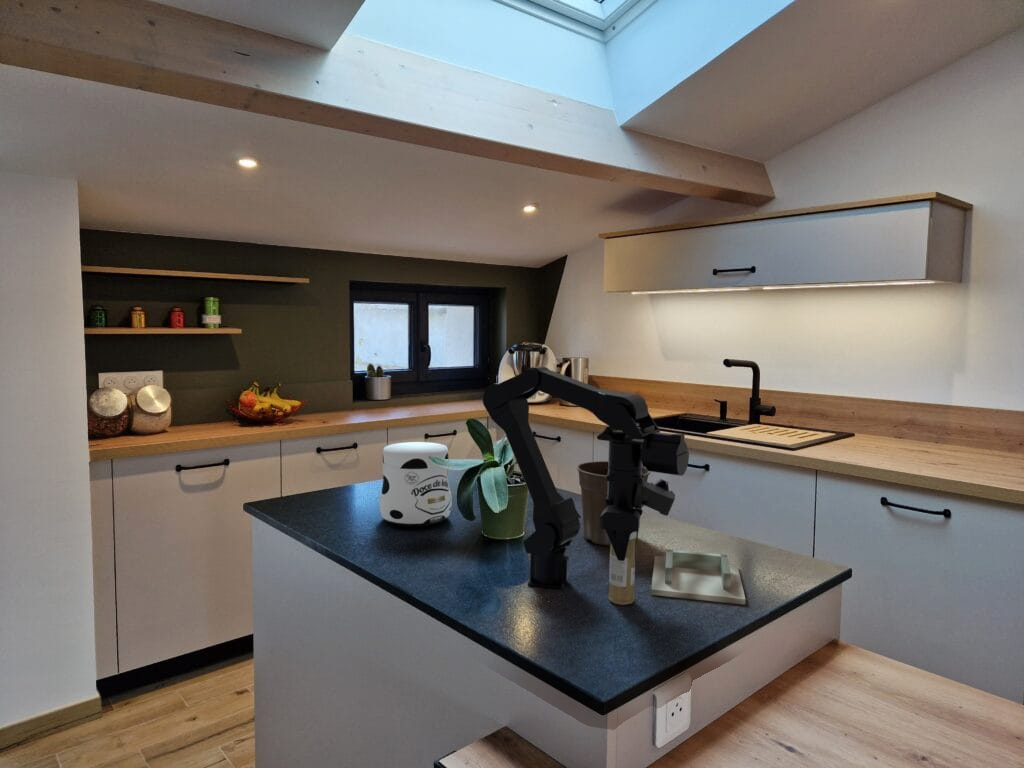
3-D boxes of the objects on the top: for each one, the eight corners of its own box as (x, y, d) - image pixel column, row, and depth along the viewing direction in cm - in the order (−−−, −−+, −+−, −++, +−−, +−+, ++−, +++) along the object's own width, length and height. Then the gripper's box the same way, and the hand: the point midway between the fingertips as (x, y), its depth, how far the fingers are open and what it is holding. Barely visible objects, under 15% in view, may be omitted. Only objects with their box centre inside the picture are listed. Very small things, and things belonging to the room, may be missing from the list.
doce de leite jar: (441, 534, 154) (441, 456, 152) (368, 529, 157) (368, 452, 155) (459, 513, 171) (459, 442, 169) (393, 509, 174) (393, 439, 172)
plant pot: (641, 528, 161) (644, 461, 159) (654, 551, 144) (656, 477, 143) (573, 526, 161) (574, 459, 160) (577, 549, 145) (579, 475, 143)
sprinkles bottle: (639, 602, 118) (642, 526, 117) (620, 608, 116) (622, 530, 114) (621, 593, 122) (624, 520, 121) (602, 598, 119) (604, 524, 118)
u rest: (651, 594, 121) (651, 573, 121) (654, 560, 139) (655, 541, 138) (745, 604, 118) (746, 582, 117) (736, 568, 135) (737, 548, 135)
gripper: (672, 483, 106) (668, 580, 107) (673, 460, 124) (670, 543, 125) (600, 478, 108) (598, 573, 110) (612, 456, 126) (609, 538, 128)
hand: (622, 555), depth 118 cm, fingers closed on sprinkles bottle, 4 cm apart
